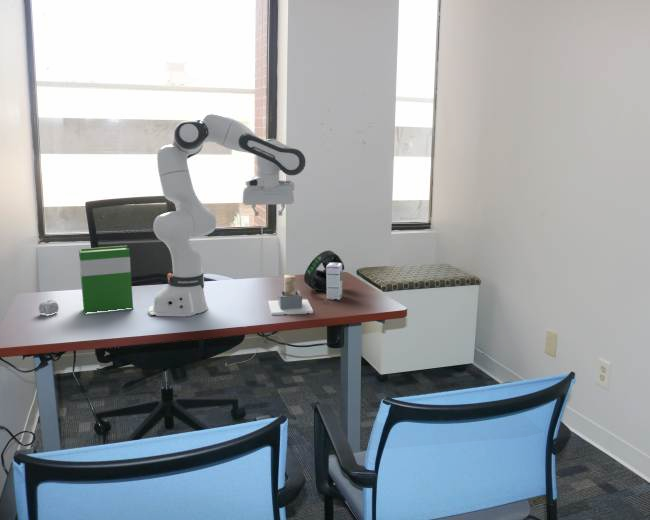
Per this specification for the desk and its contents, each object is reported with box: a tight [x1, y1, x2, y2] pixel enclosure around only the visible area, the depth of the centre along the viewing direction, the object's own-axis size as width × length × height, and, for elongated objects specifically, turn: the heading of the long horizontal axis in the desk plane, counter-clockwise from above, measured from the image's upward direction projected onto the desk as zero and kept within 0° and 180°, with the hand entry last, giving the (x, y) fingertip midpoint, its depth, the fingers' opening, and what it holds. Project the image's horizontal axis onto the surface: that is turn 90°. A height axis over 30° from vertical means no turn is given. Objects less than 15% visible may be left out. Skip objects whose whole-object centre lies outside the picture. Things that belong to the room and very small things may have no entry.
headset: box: [303, 250, 345, 292], centre depth 273 cm, size 18×14×29 cm
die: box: [38, 299, 60, 314], centre depth 236 cm, size 5×5×5 cm
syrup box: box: [325, 263, 343, 301], centre depth 259 cm, size 6×6×14 cm
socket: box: [267, 289, 314, 316], centre depth 245 cm, size 16×16×6 cm
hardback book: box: [78, 245, 134, 314], centre depth 240 cm, size 18×7×24 cm, turn 114°
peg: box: [283, 274, 297, 296], centre depth 244 cm, size 4×4×12 cm
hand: (268, 215), depth 248 cm, fingers open, 8 cm apart
